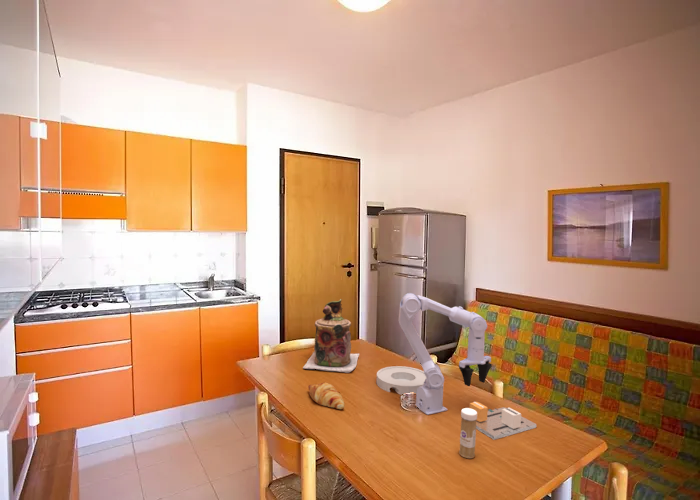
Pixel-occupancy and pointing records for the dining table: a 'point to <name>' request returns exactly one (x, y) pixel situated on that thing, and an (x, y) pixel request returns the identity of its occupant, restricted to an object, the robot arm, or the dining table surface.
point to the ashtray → (400, 379)
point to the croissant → (326, 395)
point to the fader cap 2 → (511, 418)
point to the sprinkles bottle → (468, 432)
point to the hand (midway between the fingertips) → (474, 383)
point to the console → (501, 425)
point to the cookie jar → (332, 342)
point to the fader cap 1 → (480, 411)
